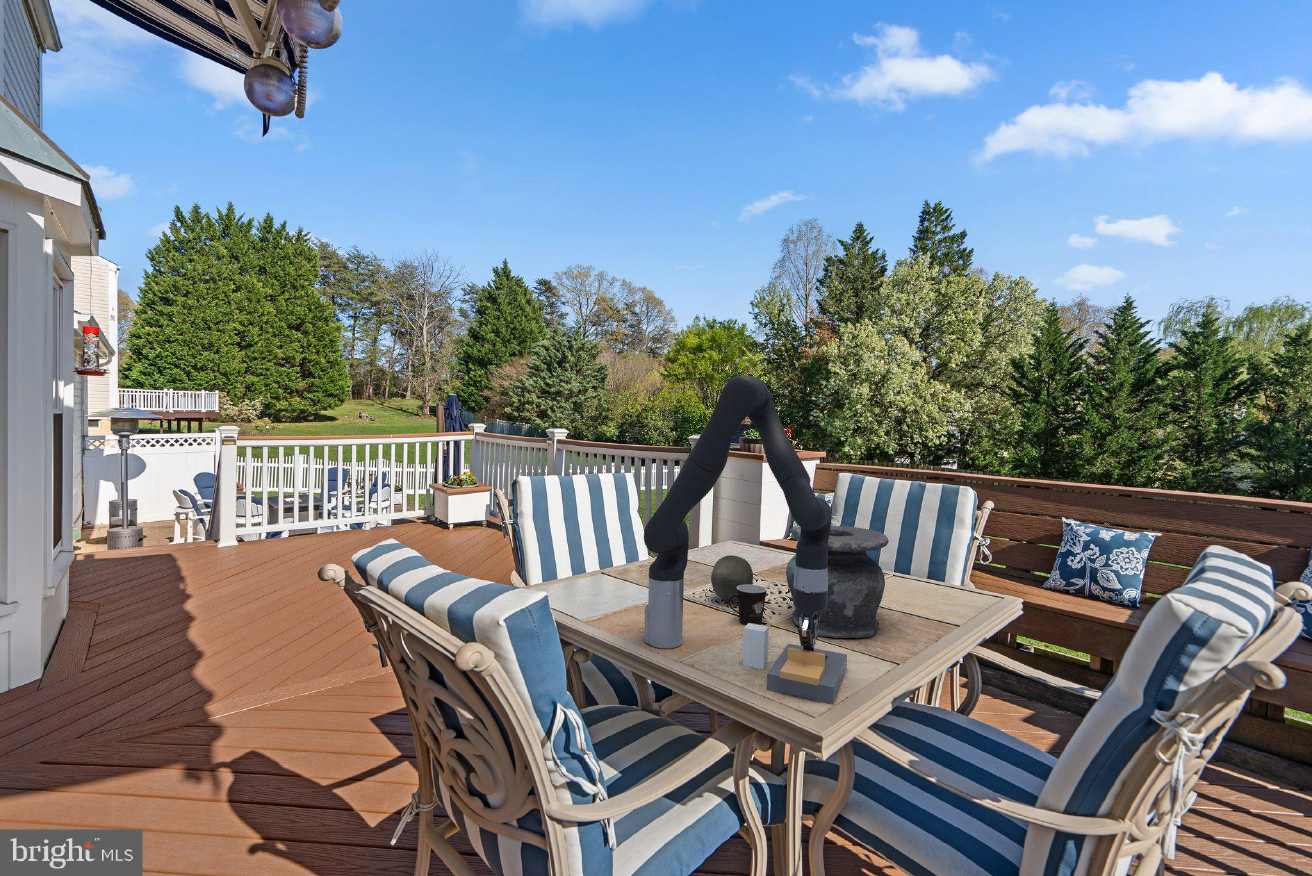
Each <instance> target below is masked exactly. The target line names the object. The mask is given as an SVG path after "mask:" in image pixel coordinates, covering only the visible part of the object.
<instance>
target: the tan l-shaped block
mask: <svg viewBox="0 0 1312 876" xmlns="http://www.w3.org/2000/svg"><path fill="white" fill-rule="evenodd" d="M824 672H825V654H823V653H818V652H813V651H807V650H802V649H797V648H791V647H789V648H788V655H787V661H786V663H785V664H784V666H783V667H782V669H781V670H780V678H784V679H789V680H794V681H798V682H803V683H808V684H813V685H817V686H818V685H819V683H820V681H821V678H822V676H823V674H824Z"/></svg>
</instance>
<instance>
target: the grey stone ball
mask: <svg viewBox="0 0 1312 876" xmlns="http://www.w3.org/2000/svg"><path fill="white" fill-rule="evenodd" d="M710 581H711V583H710V584H711V586H712V589H713V591H714V593H715V594H716V596H717V597H718V598H720V599H721V600H723V601H725V602H728V601H729V598H730V597H731V596H732V595H737V586H740V585H753V583H754V582H753V581H754V572H753V568H752V566H751V564H750V563H749V562H748V561H747V560H746V558H744V557H741V556H737V555H733V554H732V555H730V554H729V555H726V556H722V557H721V558H719V559H718V560H717V561H716V562H715V563H714V565H713V569H712V572H711V576H710ZM734 602H738V598H737V597H733V598H732V599H731V601H730V603H734Z"/></svg>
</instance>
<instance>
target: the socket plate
mask: <svg viewBox="0 0 1312 876" xmlns="http://www.w3.org/2000/svg"><path fill="white" fill-rule="evenodd" d="M789 647H791V648H797V649H802V650H803V646H801V645H798V644H794V643H793V644H792V643H787V644H786V646H785V647H784V649H783V650H782V651H781V654H779V656H778V657H777V659H776V660H775V662H774V663H773V664H772V666H771V667H770V669H769V671H768V672H767V674H766V690H767V691H771V692H777V693H781V694H785V695H790V696H795V697H798V698H802V699H803V698H804V699H807V700H813V701H817V702H822V703H826V704H830V703H832V705H834V704H833V703H835V701H836V698H837V695H838V693H839V691H840V687H841V685H842V682H843V679H844V677H845V675H844V674H846V672H847V667H848V665H847V664H848V654H847V653H842V652H837V651H831V650H825V649H820V648H815V647H814V652H818V653H823V654H825V672H824V674H823V676H822V678H821V681H820V683H819V685H818V686H817V685H813V684H808V683H803V682H798V681H794V680H789V679H784V678H780V670H781V669H782V667H783V666H784V664H785V663H786V661H787V655H788V648H789Z"/></svg>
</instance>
